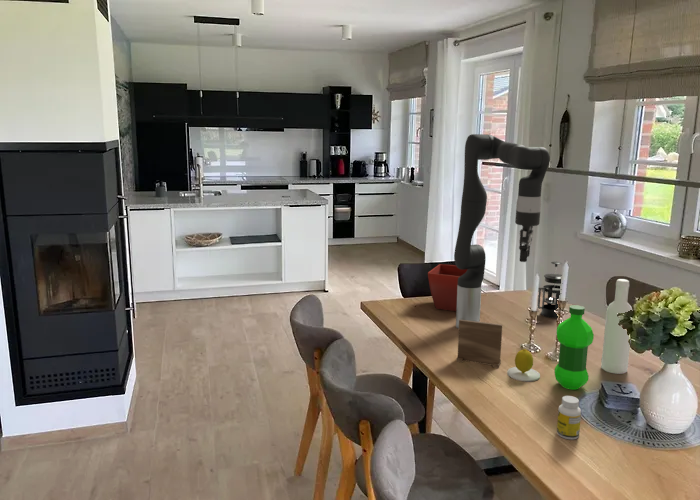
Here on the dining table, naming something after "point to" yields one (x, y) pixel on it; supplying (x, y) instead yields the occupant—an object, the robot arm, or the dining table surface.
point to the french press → (550, 294)
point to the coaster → (523, 375)
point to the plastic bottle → (573, 349)
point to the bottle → (616, 332)
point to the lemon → (524, 360)
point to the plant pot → (444, 286)
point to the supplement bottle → (569, 418)
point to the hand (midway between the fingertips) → (524, 258)
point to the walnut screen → (479, 342)
